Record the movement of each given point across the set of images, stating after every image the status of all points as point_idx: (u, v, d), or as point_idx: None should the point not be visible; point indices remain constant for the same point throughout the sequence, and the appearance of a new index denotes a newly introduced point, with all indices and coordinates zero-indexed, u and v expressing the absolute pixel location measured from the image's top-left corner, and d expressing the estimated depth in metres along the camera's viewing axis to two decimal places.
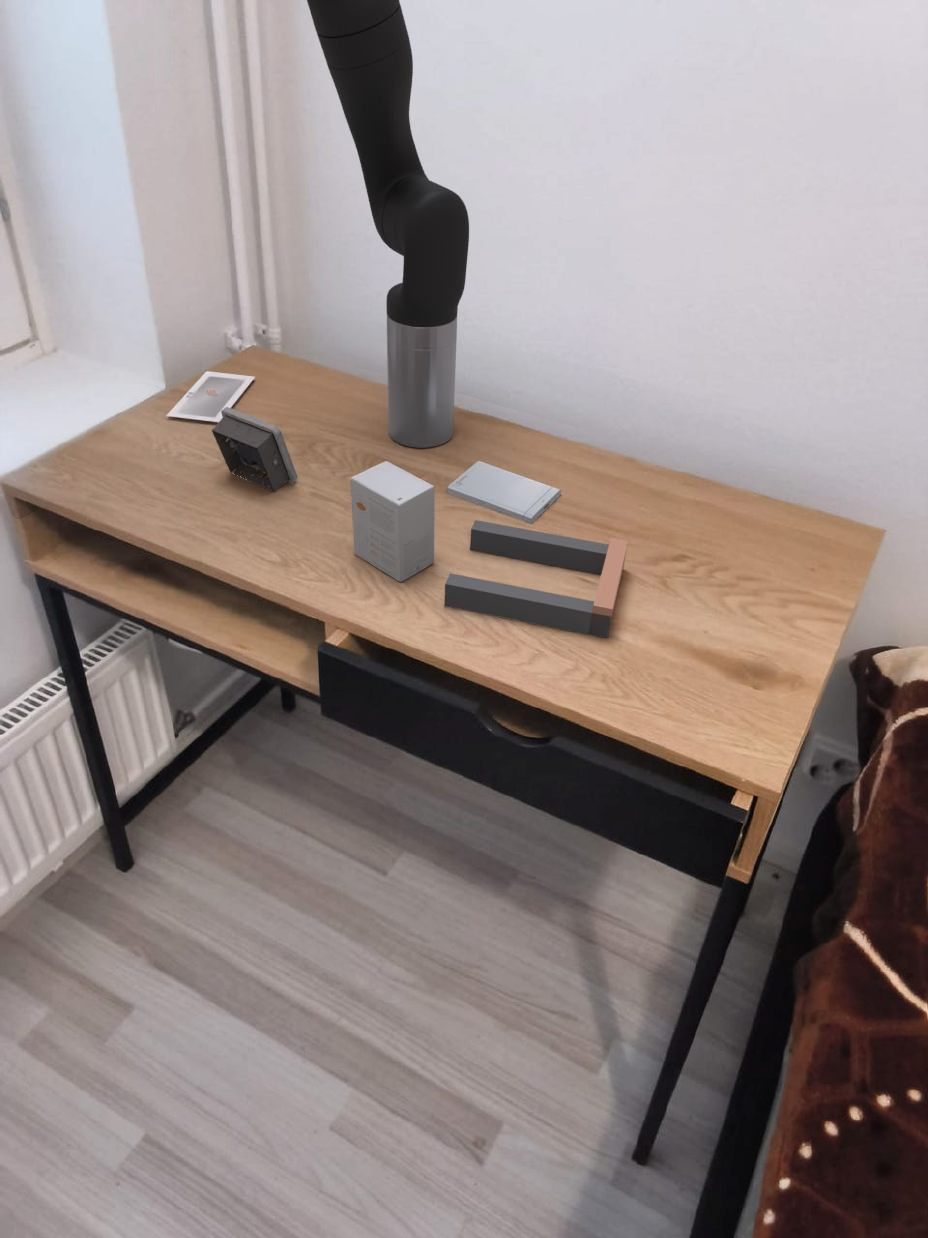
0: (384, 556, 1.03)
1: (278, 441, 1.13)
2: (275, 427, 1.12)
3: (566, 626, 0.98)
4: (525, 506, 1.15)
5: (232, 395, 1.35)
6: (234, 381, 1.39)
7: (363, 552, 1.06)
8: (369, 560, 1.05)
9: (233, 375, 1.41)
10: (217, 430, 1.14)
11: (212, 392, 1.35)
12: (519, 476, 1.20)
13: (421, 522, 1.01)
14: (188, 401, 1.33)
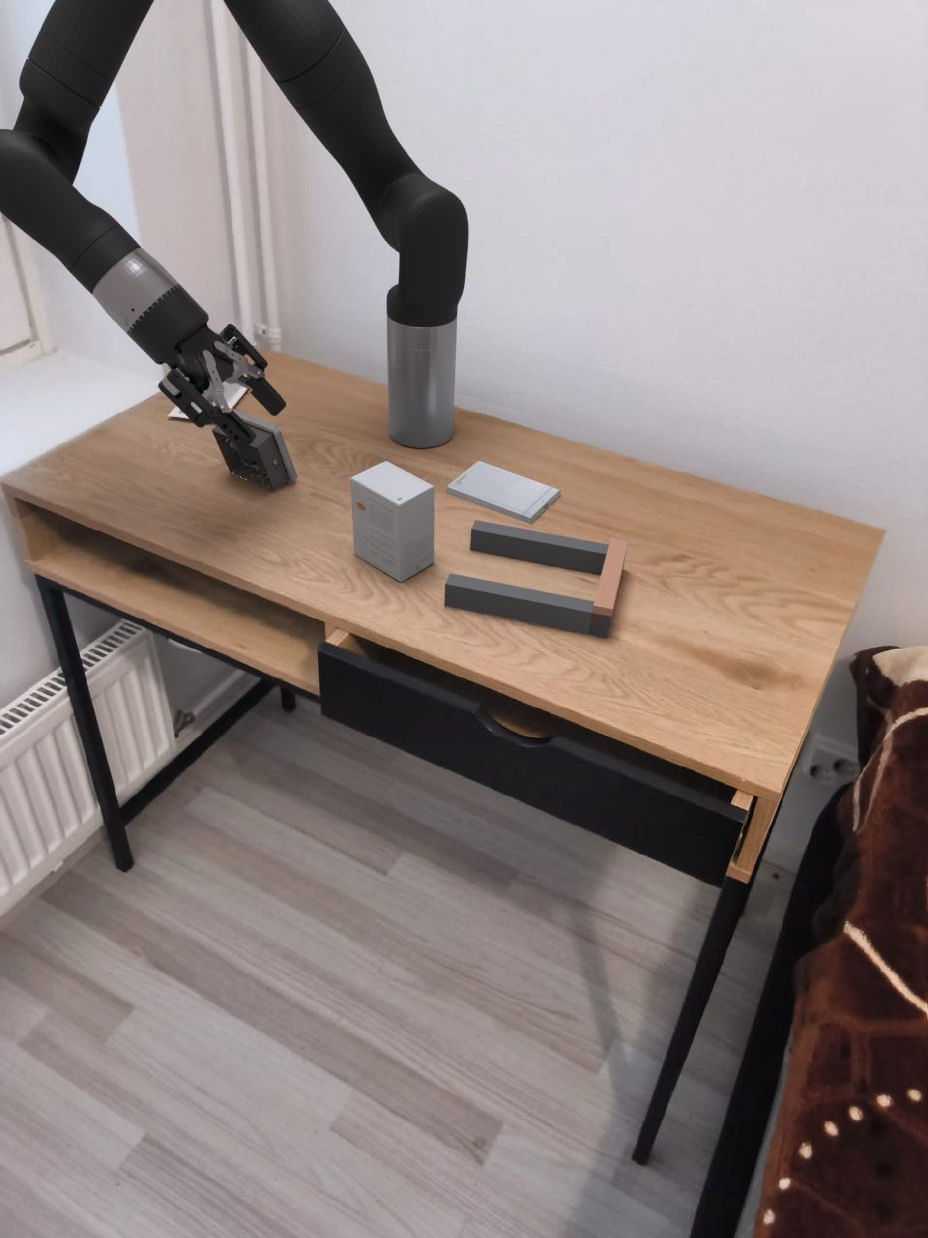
0: (384, 556, 1.03)
1: (278, 441, 1.13)
2: (275, 427, 1.12)
3: (566, 626, 0.98)
4: (524, 506, 1.15)
5: (233, 396, 1.35)
6: None
7: (363, 552, 1.06)
8: (369, 560, 1.05)
9: None
10: (217, 430, 1.14)
11: None
12: (519, 476, 1.20)
13: (421, 522, 1.01)
14: None
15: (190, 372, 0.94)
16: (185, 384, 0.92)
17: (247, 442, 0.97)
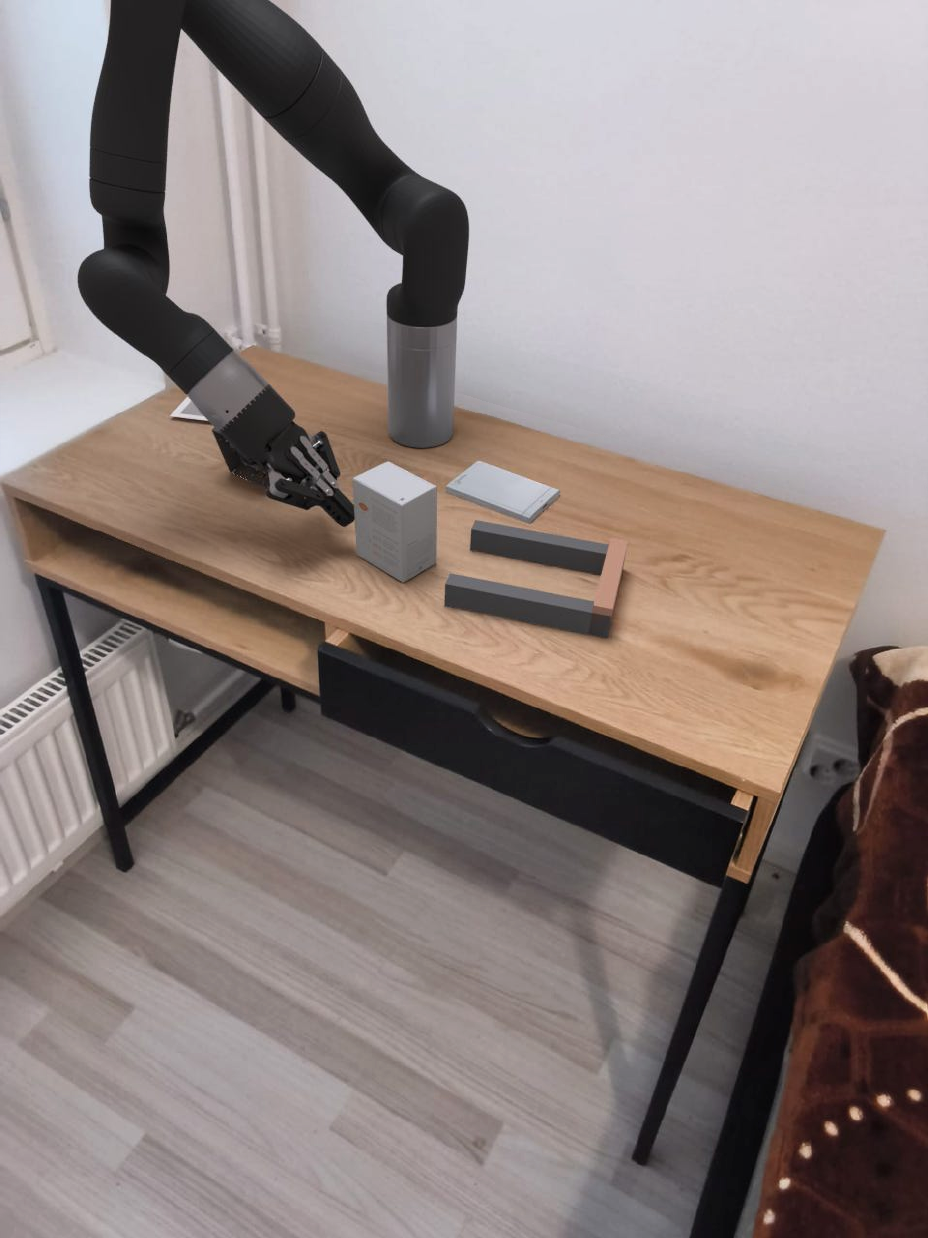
0: (387, 556, 1.03)
1: None
2: None
3: (566, 626, 0.98)
4: (523, 506, 1.15)
5: None
6: None
7: (365, 552, 1.05)
8: (372, 560, 1.05)
9: None
10: (217, 430, 1.14)
11: None
12: (518, 476, 1.20)
13: (423, 522, 1.01)
14: (191, 401, 1.33)
15: (284, 468, 0.99)
16: (293, 487, 0.98)
17: (348, 522, 1.04)
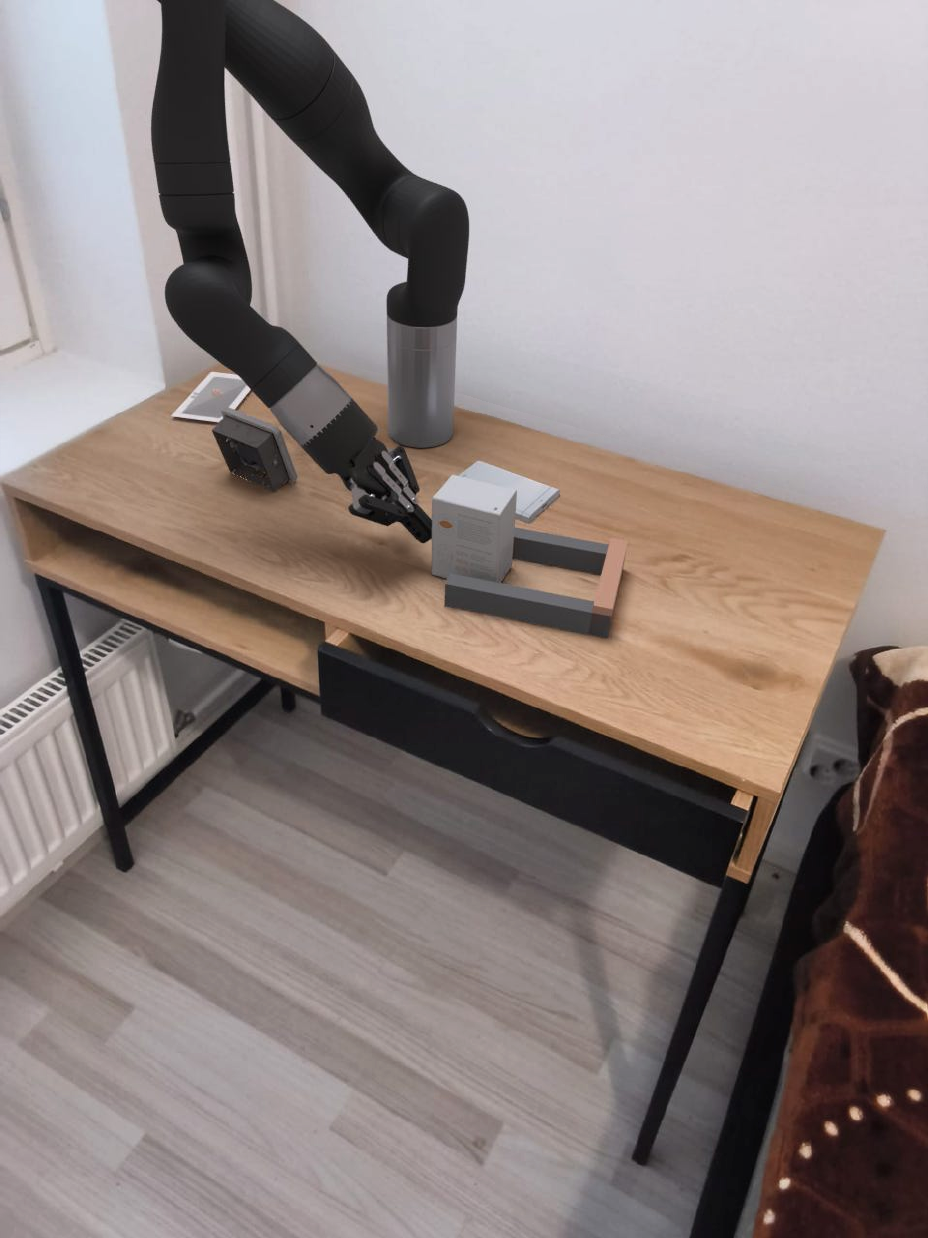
0: (475, 569, 1.02)
1: (278, 441, 1.13)
2: (275, 427, 1.12)
3: (566, 626, 0.98)
4: (523, 506, 1.15)
5: (236, 396, 1.35)
6: (239, 382, 1.39)
7: (445, 570, 1.03)
8: None
9: (238, 376, 1.41)
10: (217, 430, 1.14)
11: (217, 393, 1.35)
12: (518, 476, 1.20)
13: (509, 528, 1.00)
14: (193, 401, 1.33)
15: (366, 484, 0.97)
16: (376, 503, 0.96)
17: (427, 538, 1.02)
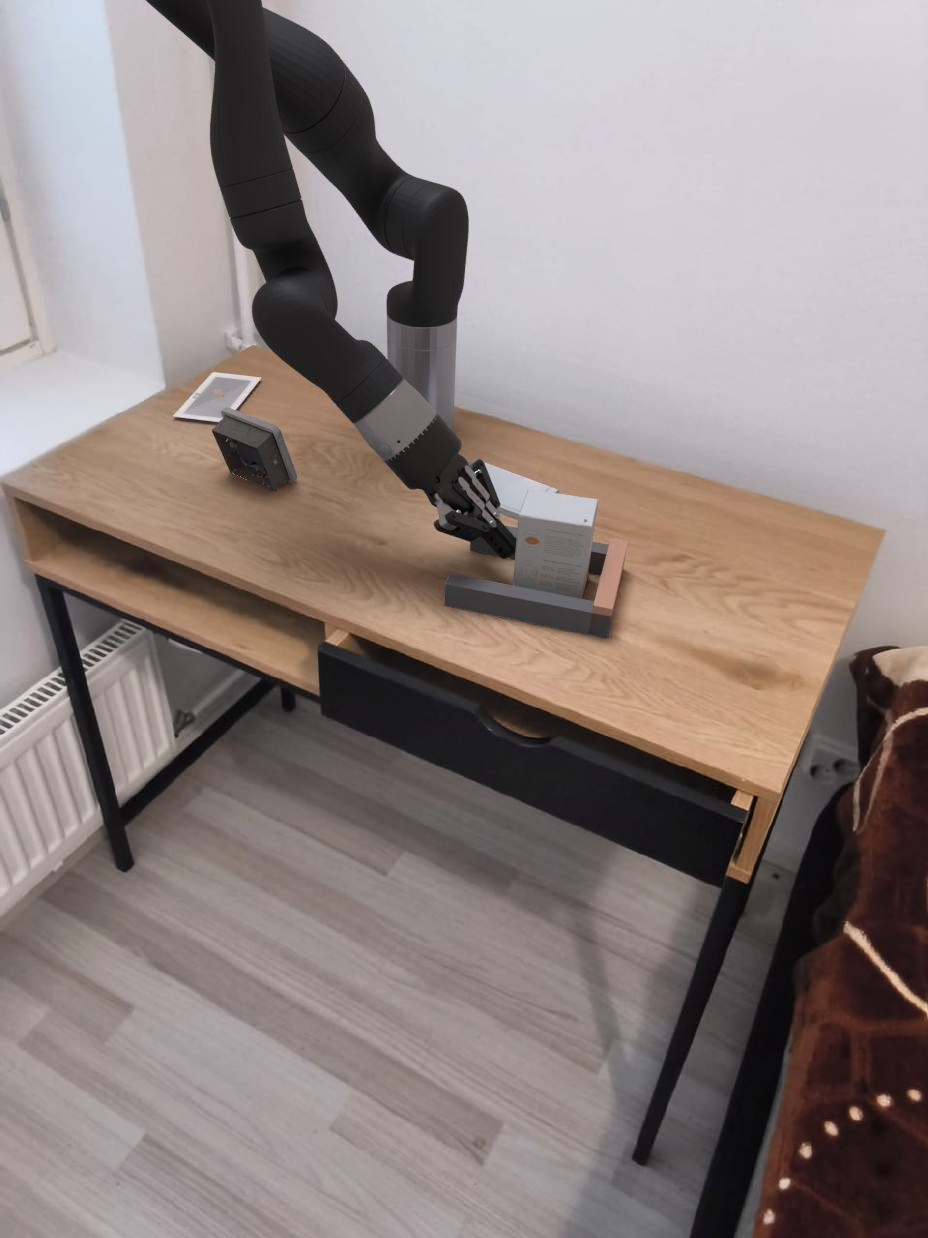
0: (561, 582, 1.00)
1: (278, 441, 1.13)
2: (275, 427, 1.12)
3: (566, 626, 0.98)
4: None
5: (238, 396, 1.35)
6: (240, 382, 1.39)
7: (527, 587, 1.02)
8: None
9: (239, 376, 1.41)
10: (217, 430, 1.14)
11: (218, 393, 1.35)
12: (518, 476, 1.20)
13: (592, 538, 1.00)
14: (194, 402, 1.33)
15: (452, 499, 0.95)
16: (462, 519, 0.95)
17: (509, 553, 1.01)
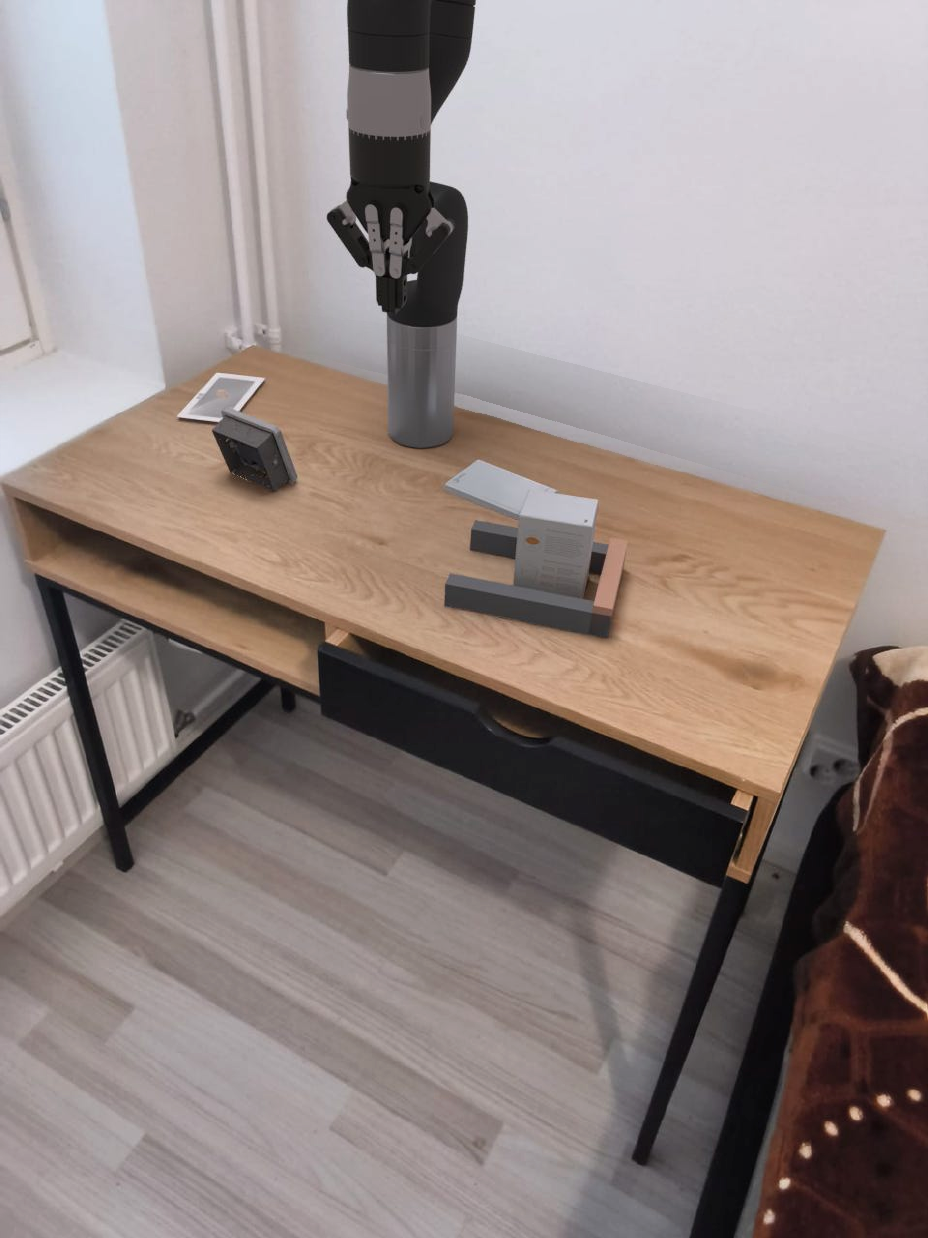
0: (561, 582, 1.00)
1: (278, 441, 1.13)
2: (275, 427, 1.12)
3: (566, 626, 0.98)
4: (520, 505, 1.15)
5: (242, 397, 1.35)
6: (244, 383, 1.39)
7: (528, 587, 1.02)
8: None
9: (243, 376, 1.40)
10: (217, 430, 1.14)
11: (222, 393, 1.35)
12: (517, 476, 1.20)
13: (593, 538, 1.00)
14: (198, 402, 1.33)
15: None
16: None
17: (398, 308, 0.94)
